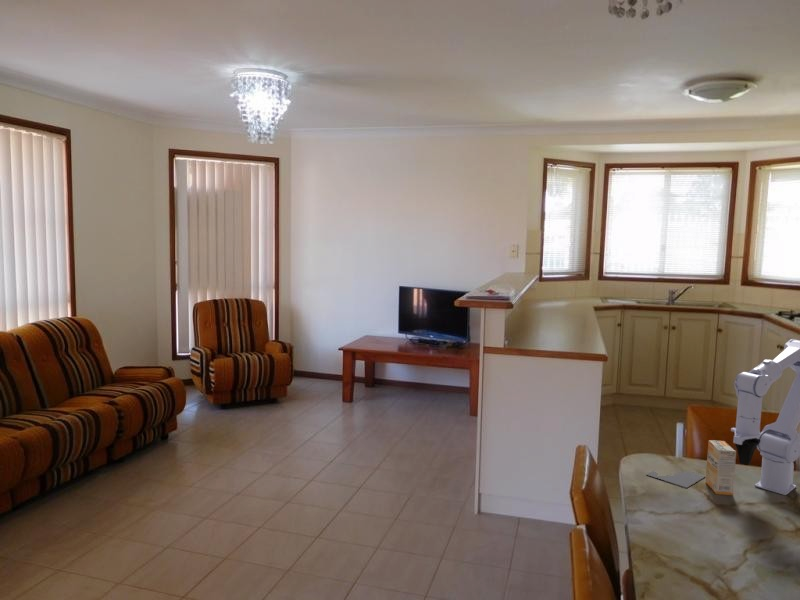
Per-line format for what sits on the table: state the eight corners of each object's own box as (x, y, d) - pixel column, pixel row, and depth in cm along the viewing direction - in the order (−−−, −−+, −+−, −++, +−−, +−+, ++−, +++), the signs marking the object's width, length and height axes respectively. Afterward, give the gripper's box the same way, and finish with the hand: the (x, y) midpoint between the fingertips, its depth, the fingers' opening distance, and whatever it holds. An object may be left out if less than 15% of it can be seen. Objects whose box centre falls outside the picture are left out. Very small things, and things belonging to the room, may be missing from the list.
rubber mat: (665, 465, 187) (666, 464, 187) (705, 477, 178) (705, 476, 178) (646, 475, 178) (646, 474, 178) (686, 488, 169) (686, 487, 169)
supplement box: (704, 482, 174) (707, 439, 173) (721, 483, 173) (725, 440, 172) (715, 494, 166) (718, 449, 164) (733, 495, 165) (737, 450, 164)
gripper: (742, 408, 170) (738, 453, 172) (722, 417, 161) (719, 465, 162) (770, 414, 165) (765, 460, 166) (751, 423, 155) (747, 473, 157)
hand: (744, 463), depth 164 cm, fingers closed
